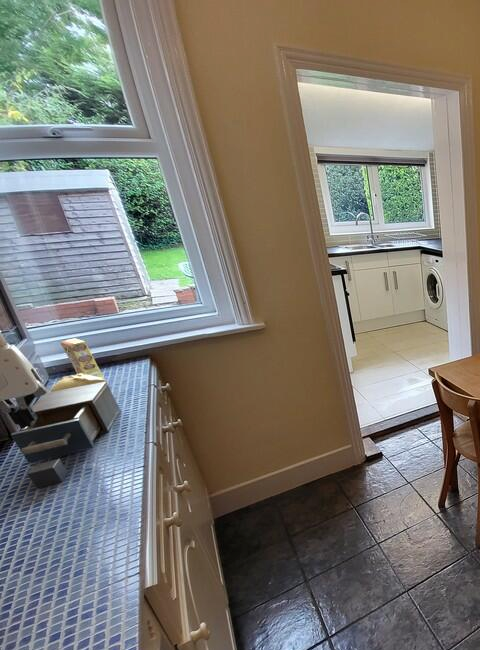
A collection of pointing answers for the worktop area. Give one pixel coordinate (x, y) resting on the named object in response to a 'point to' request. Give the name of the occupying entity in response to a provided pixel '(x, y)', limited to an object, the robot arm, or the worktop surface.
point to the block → (48, 473)
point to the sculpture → (76, 381)
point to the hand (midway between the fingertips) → (29, 424)
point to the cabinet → (83, 402)
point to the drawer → (58, 433)
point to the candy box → (81, 357)
